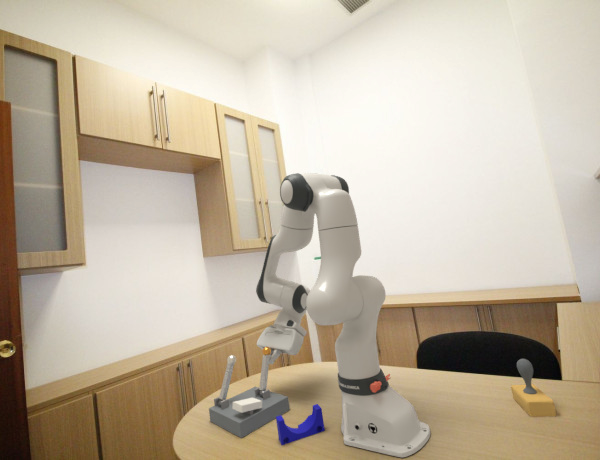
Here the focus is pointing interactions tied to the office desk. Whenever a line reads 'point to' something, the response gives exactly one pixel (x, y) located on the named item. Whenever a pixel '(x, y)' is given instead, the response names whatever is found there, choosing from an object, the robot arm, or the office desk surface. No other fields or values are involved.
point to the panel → (248, 412)
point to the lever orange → (264, 370)
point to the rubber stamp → (531, 393)
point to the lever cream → (226, 379)
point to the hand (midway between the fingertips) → (268, 363)
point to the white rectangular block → (247, 405)
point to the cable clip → (301, 427)
